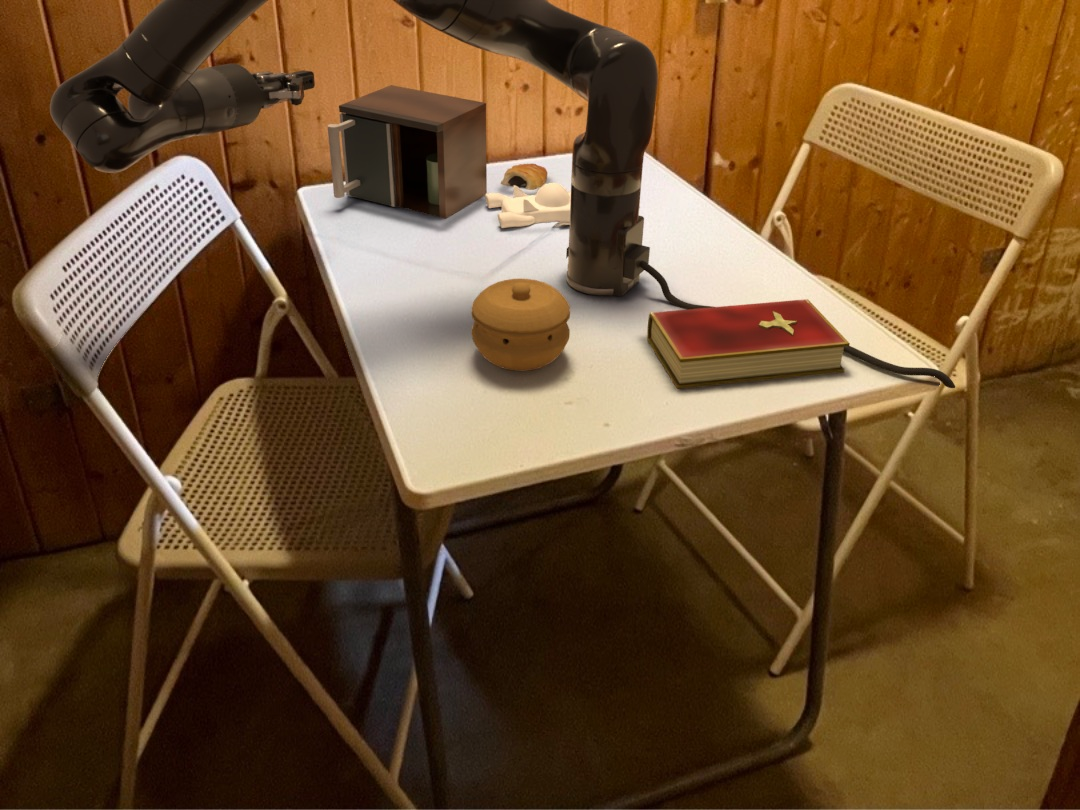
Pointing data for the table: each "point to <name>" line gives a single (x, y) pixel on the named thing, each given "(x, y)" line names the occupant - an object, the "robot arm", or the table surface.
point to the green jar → (432, 179)
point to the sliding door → (363, 159)
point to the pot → (520, 324)
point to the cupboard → (431, 145)
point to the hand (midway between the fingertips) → (310, 78)
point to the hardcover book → (745, 343)
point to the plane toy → (532, 206)
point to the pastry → (525, 176)
